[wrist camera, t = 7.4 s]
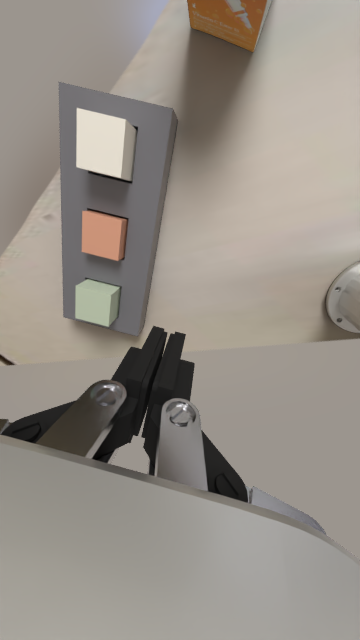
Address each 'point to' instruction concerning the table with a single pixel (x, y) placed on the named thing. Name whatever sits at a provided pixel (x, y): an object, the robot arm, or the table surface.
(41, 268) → the table surface
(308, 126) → the table surface
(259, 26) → the small box
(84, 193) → the key console
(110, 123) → the cream key
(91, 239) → the terracotta key
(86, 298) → the sage key
